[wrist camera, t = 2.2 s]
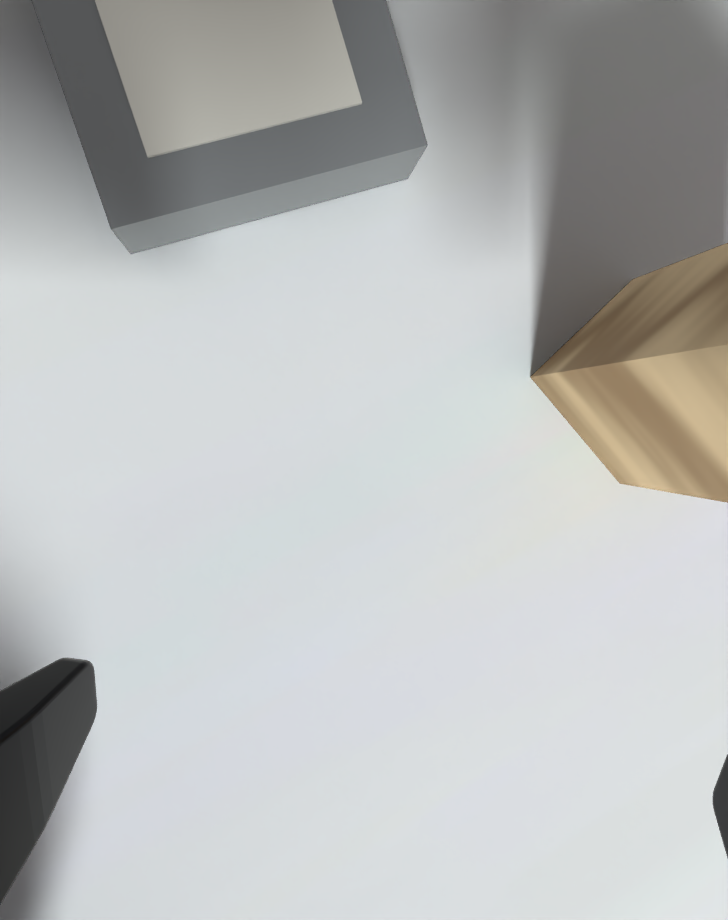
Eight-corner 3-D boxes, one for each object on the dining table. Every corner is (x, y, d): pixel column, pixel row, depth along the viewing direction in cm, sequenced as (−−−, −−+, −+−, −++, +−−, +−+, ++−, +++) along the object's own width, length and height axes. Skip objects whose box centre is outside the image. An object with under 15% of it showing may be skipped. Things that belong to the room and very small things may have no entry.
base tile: (407, 178, 20) (428, 143, 18) (130, 254, 19) (109, 228, 16) (321, -114, 19) (330, -196, 17) (24, -54, 18) (-15, -132, 16)
